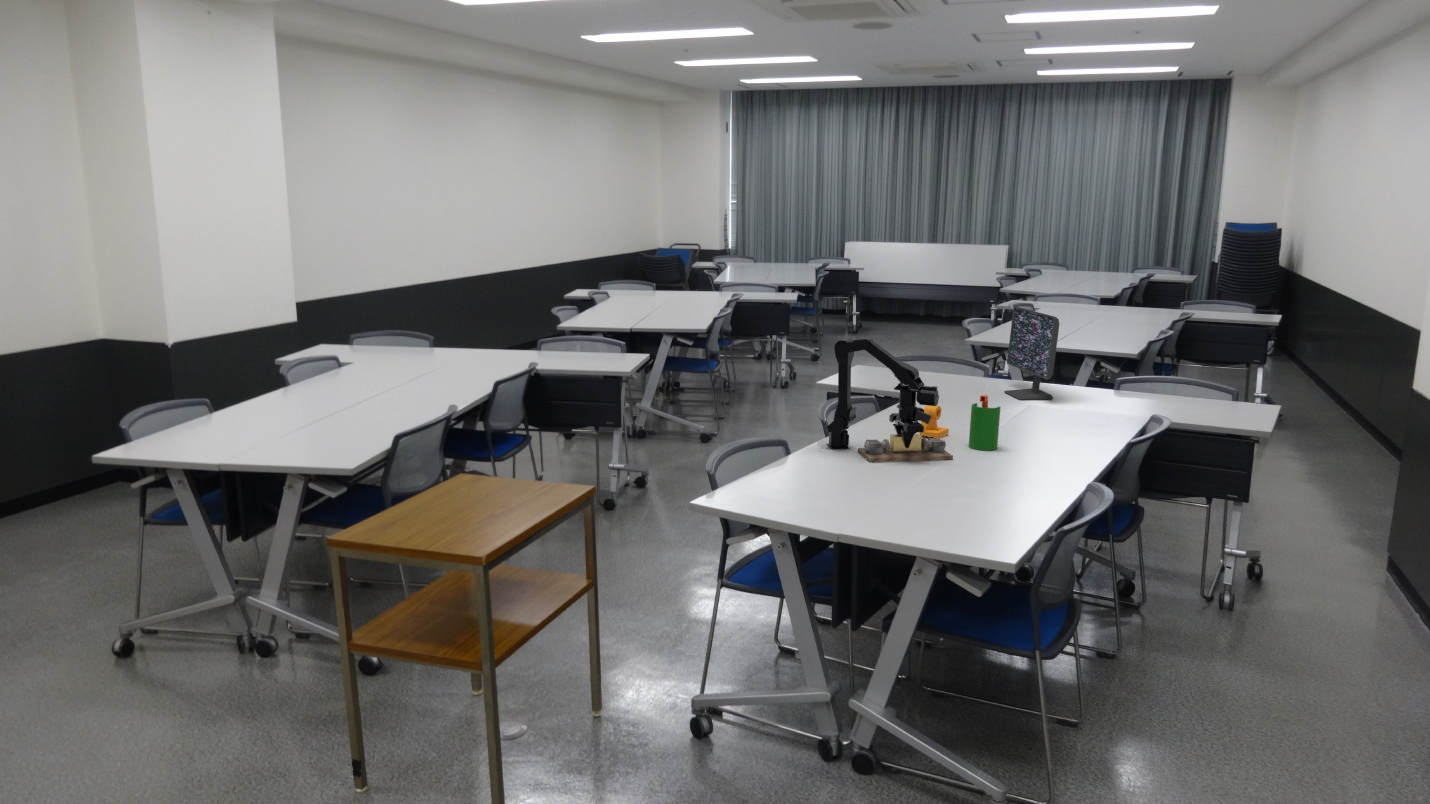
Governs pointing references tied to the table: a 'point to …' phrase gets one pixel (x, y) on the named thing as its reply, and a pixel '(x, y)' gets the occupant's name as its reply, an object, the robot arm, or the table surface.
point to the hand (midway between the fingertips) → (904, 446)
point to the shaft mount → (883, 453)
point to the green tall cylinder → (984, 426)
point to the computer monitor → (1033, 349)
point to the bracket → (933, 423)
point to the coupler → (899, 445)
